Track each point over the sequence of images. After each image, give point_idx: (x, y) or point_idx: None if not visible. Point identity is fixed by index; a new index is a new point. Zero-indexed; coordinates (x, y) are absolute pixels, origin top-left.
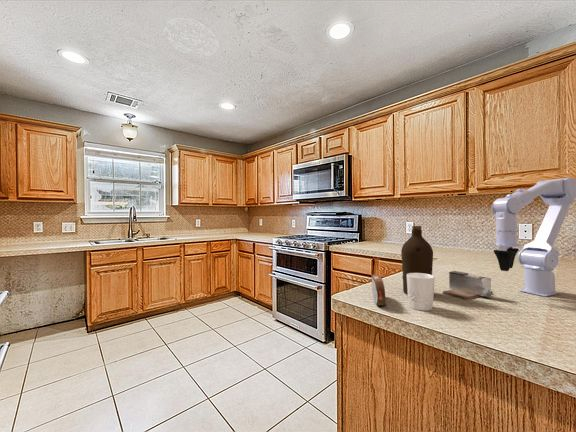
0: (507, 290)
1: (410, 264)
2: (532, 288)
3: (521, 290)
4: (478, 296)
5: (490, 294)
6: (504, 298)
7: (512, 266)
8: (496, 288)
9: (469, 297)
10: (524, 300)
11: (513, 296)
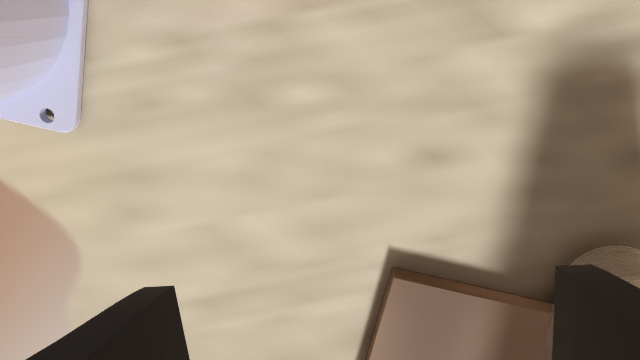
0: (135, 208)
1: None
2: (45, 17)
3: (75, 110)
4: None
5: (636, 254)
6: (498, 157)
7: (152, 295)
8: None
9: None
10: (432, 12)
11: (344, 119)
